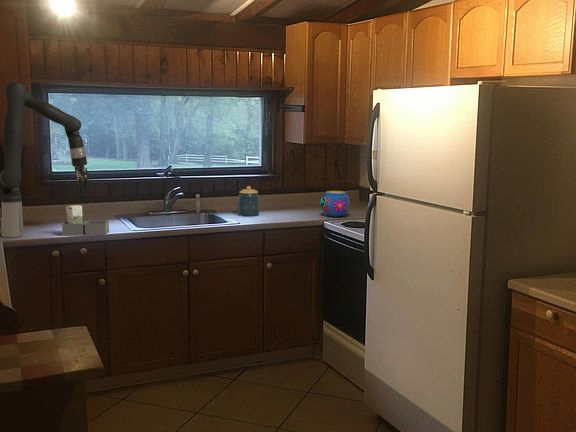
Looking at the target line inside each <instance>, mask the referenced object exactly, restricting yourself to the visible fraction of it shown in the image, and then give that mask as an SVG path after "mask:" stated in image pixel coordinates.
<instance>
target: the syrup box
mask: <svg viewBox="0 0 576 432" xmlns="http://www.w3.org/2000/svg"><path fill="white" fill-rule="evenodd" d="M65 208H66V209H65V210H66V211H65V212H66V213H65V214H66V216H65V217H66V221H67V224H82V223H83V221H84V219H83V206H82V205H80V204H74V205H73V204H72V205H66V206H65Z"/></svg>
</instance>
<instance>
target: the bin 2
mask: <svg viewBox="0 0 576 432" xmlns="http://www.w3.org/2000/svg"><path fill="white" fill-rule="evenodd" d="M109 232H110V221H109V220H108V219H107V220H87V222H86V223H85V234H84V236H86V237H88V236H93V237H94V236H98V237H99V236H107V235H108V234H109Z"/></svg>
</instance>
